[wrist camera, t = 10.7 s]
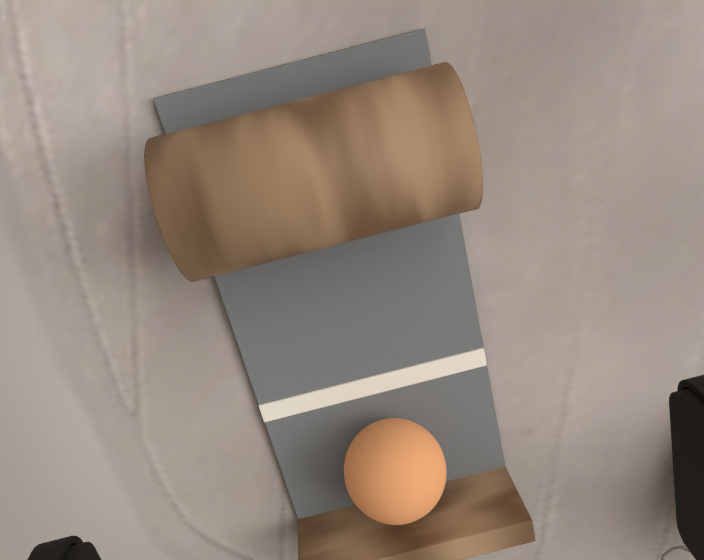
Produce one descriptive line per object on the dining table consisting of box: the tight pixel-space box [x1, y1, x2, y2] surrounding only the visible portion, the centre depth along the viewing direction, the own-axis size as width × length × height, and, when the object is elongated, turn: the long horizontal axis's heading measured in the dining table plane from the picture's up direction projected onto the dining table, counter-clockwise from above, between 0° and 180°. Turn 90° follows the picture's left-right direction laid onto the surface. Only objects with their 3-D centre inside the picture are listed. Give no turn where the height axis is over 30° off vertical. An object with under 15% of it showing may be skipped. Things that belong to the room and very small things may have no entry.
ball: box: [344, 418, 447, 525], centre depth 37 cm, size 6×6×6 cm
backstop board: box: [298, 467, 535, 560], centre depth 40 cm, size 14×2×5 cm, turn 104°
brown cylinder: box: [144, 62, 483, 282], centre depth 30 cm, size 14×7×7 cm, turn 104°
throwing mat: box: [153, 29, 505, 519], centre depth 37 cm, size 14×29×1 cm, turn 14°
